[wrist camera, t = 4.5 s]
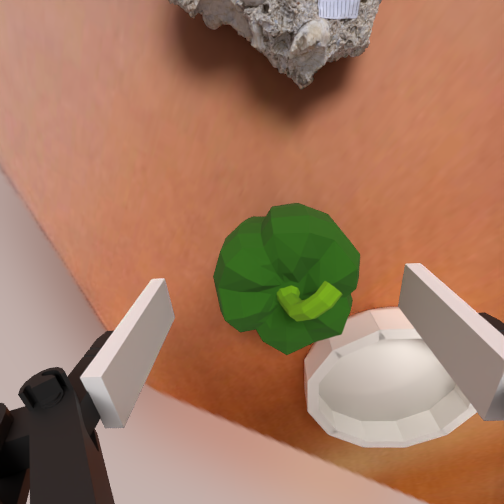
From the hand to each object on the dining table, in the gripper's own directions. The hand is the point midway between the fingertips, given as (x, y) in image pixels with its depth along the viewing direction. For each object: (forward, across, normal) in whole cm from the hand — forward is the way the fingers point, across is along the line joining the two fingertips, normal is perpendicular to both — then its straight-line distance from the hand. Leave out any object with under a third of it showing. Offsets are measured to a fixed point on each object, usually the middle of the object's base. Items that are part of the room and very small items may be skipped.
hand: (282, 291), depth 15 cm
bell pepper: (+7, 0, 0) cm, 7 cm away
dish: (+7, +10, -14) cm, 18 cm away
